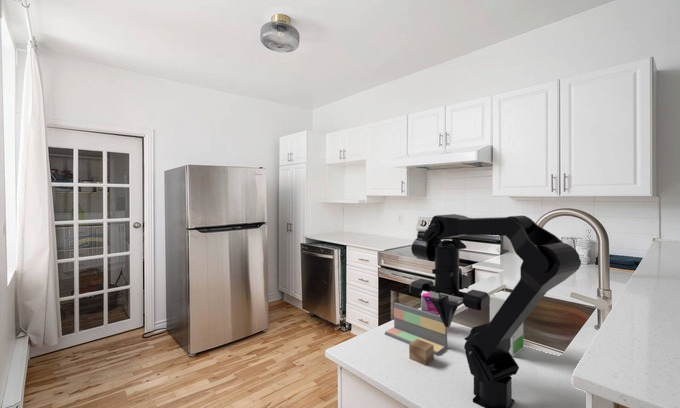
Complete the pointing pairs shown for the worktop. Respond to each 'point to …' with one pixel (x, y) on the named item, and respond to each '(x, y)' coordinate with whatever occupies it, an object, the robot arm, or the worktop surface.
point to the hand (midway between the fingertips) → (447, 326)
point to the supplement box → (427, 303)
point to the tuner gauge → (418, 327)
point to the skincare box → (517, 337)
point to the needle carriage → (421, 351)
